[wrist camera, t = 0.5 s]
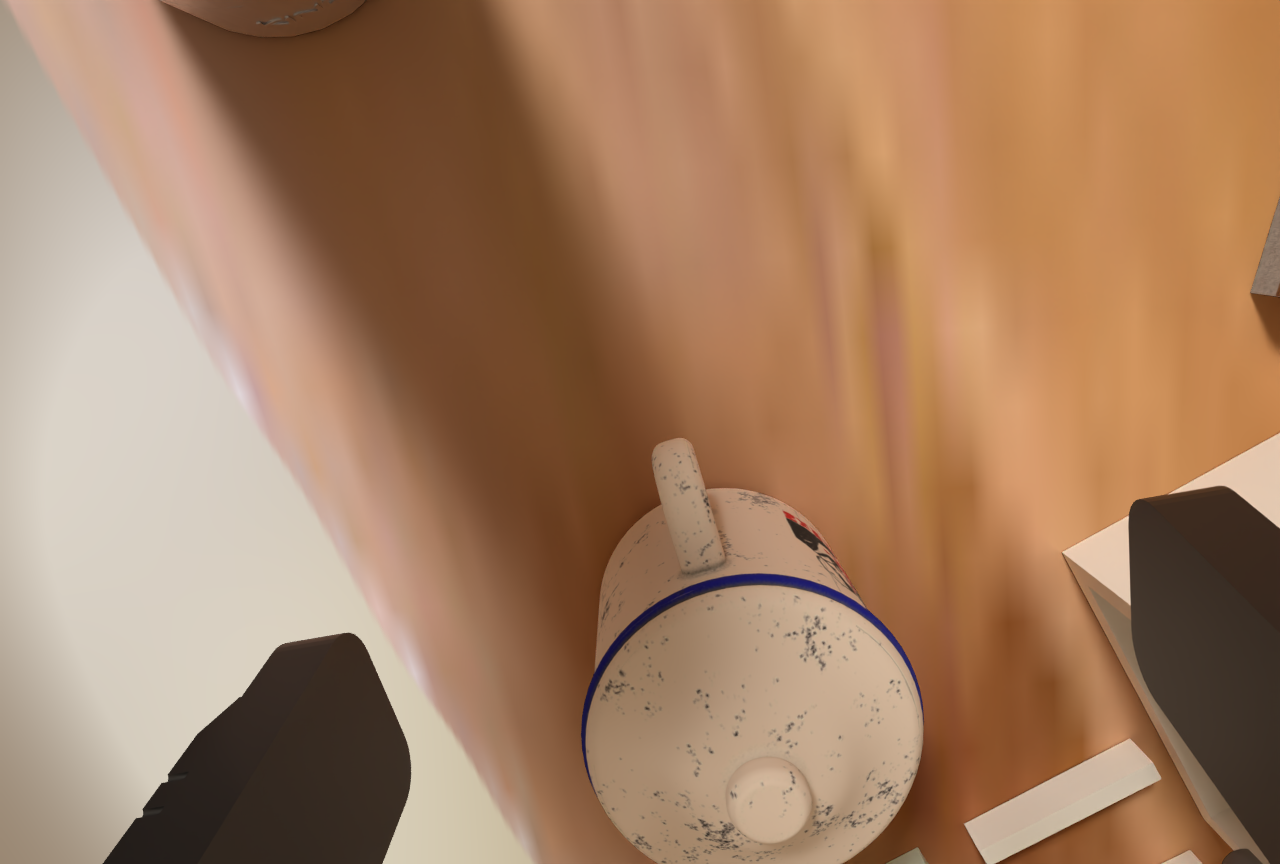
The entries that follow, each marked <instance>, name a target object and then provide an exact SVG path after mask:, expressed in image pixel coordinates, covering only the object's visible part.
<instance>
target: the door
mask: <svg viewBox="0 0 1280 864" xmlns="http://www.w3.org/2000/svg"><path fill="white" fill-rule="evenodd" d="M886 864H928V862H927V861H926V859H925V858H924V856H923V855H922V853H921V851H920V850H919V848H918V847H917V848H915V849H913V850H911V851H909V852H907V853H905V854H903V855H901V856H900V857H898V858H896V859H894V860H892V861H890V862H888V863H886Z"/></svg>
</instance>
